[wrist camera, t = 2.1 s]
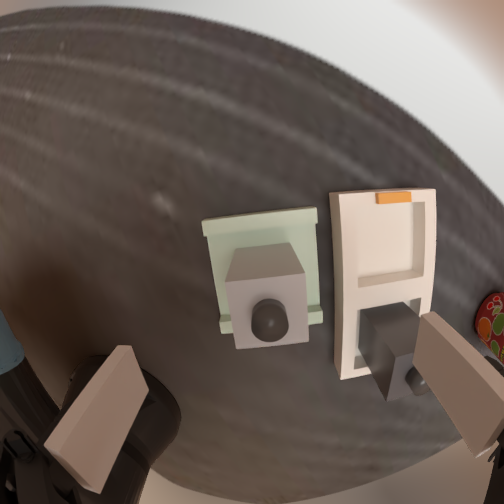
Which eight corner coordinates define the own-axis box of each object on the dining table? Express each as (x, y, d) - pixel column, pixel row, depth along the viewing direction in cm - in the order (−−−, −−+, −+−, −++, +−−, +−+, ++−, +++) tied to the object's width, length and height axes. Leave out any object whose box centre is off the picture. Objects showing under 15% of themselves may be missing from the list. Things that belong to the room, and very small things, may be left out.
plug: (242, 298, 24) (234, 363, 15) (235, 248, 23) (221, 292, 14) (294, 292, 24) (312, 355, 15) (289, 242, 23) (310, 282, 14)
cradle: (223, 325, 25) (221, 333, 24) (205, 218, 23) (201, 221, 21) (319, 314, 25) (322, 322, 23) (312, 206, 22) (316, 207, 21)
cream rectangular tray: (333, 362, 26) (361, 437, 16) (328, 192, 22) (381, 202, 12) (408, 345, 26) (454, 404, 16) (417, 187, 22) (496, 197, 12)
